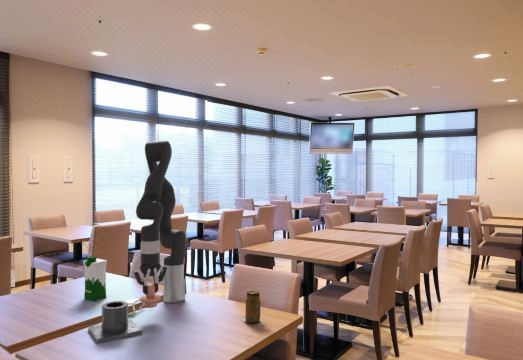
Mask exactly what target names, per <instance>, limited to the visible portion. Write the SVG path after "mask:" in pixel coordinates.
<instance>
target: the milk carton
mask: <svg viewBox="0 0 523 360" xmlns="http://www.w3.org/2000/svg"><path fill="white" fill-rule="evenodd" d="M82 263H83V267H84V298H83V299H84V300H87V301H90V302H97V301H100V300H103V299H106V298H107V287H106V283H107V278H106V277H107V276H106V275H107V274H106V273H107V272H106V271H107V266H108V265H107V264H108V259H107V260H106V259H100V258H97V256H95V255H91V256H87V257H86V260H83V262H82Z"/></svg>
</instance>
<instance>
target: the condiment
mask: <svg viewBox="0 0 523 360" xmlns="http://www.w3.org/2000/svg"><path fill="white" fill-rule="evenodd" d="M260 296H261V295H260V291H257V290H249V291H247V292H246V298H245V316H244V317H245V318H241V319H240V320H241V321H242V322H244V324H246V325H247V326H249V327H256V326H261V325H262V326H263V325H266V324H267V323H265V322H264V321H263V320H261V304H262V303H261V298H260Z"/></svg>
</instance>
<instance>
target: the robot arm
mask: <svg viewBox="0 0 523 360" xmlns="http://www.w3.org/2000/svg"><path fill="white" fill-rule="evenodd" d="M172 150H173V149H172V146H171V144H170V142H169V141H168V140H156V141H147V142H146V143H145V145H144V154H145V159H146V163H147V165H148V170H149V175H148V177H147V178H146V180H145V185H144V186H145V187H144V191H143V194H142V196H141V198H140V200H139V202H138V204H137V205H136V209H135V214H136V215H135V216H136V217H137V218H138V219H139V220H153V221H152V223H151V224H150V223H149V224H146V225H142V227H141V228H140V240H141V241H140V265H139V268H138V269H136V270H133V271H132V272H133V275H134V277H135V279H136V283H137V284H138V285H140V286H142V293H143V294H144V295H147V294H148V286H147V284H148V281H149V278H150V277H152V279H153V283H152V284H155V294H157V293H158V291H159V283H160V282H163V297H162V298H163V302H165V303H169V304H171V303H175V304H176V303H180V302H182V301H185V300H186V279H185V278H184V275H185V274H184V271H185V269H184V264H185V263H184V262H185V258H186V249H187V236H186V234H185V232H184V231H183V230H181V229H173V225H172V214H173V213H174V210H175V207H176V201H177V200H176V194H175V189H174V187H173V185H172V184H171V182H170V181H169V180H168V179H167V178H166V175H167V171H168V168H169V166H170V162H171V160H172V155H173V154H172V153H173V151H172ZM160 245H161V246H162V248H164V249H168V250H171V252H170V255H167V256H165V257H164V258H163V265H161V263H160V262H161V261H160V257H161V255H160V254H161V246H160ZM158 272H159V274H158ZM141 273H142V279H141Z"/></svg>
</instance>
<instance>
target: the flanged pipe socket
mask: <svg viewBox="0 0 523 360" xmlns="http://www.w3.org/2000/svg"><path fill="white" fill-rule="evenodd" d="M124 301H125V300H124ZM124 301H123V300H113V301H109V302H105V303H103V304H102V305H101V324H96V325H91V326H88V327H87V329H88V332H89V334H90V335H91V337H92V338H93V340H94V341H95V343H96V344H101V343H106V342H112V341H116V340H120V339H125V338H130V337H134V336H139V335H143V329H141V327H139V325H137V323H136V322H134V321H133V320H132V319H131V318H129V305H128V303H127V302H124Z"/></svg>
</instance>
